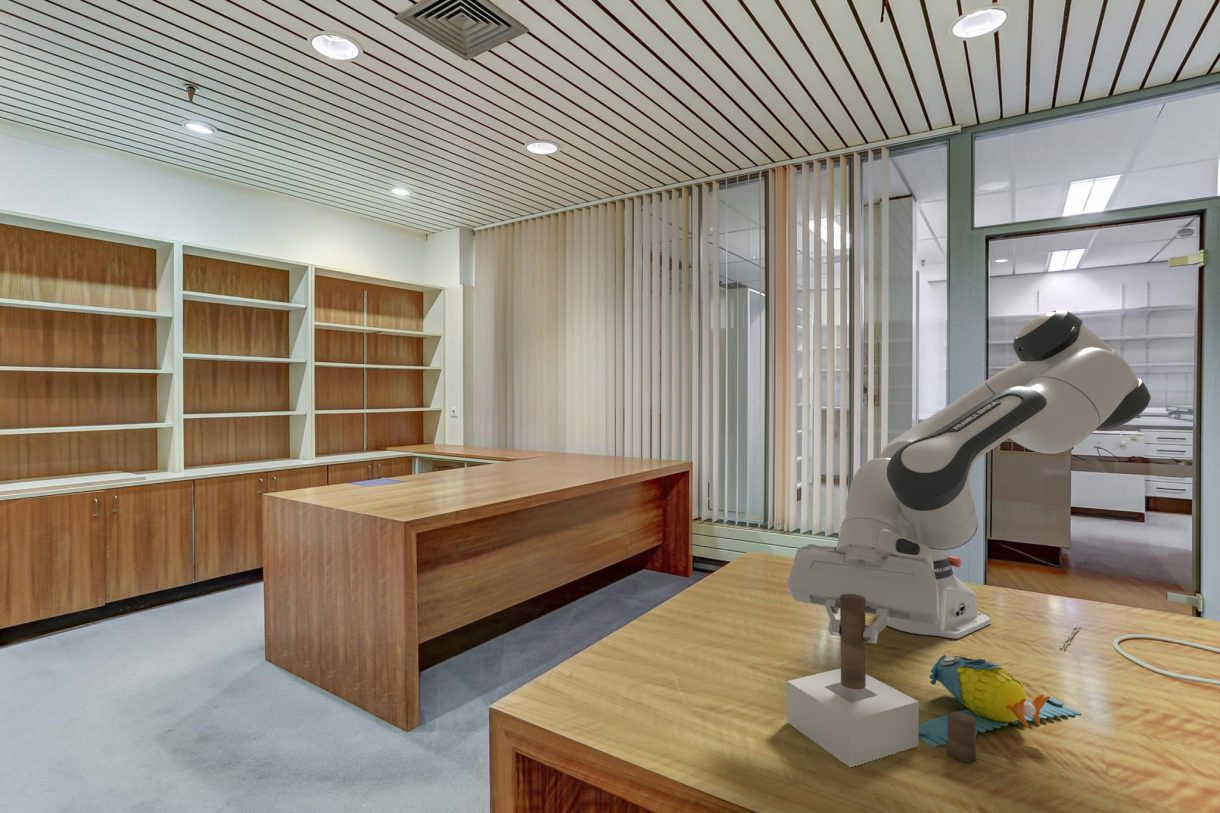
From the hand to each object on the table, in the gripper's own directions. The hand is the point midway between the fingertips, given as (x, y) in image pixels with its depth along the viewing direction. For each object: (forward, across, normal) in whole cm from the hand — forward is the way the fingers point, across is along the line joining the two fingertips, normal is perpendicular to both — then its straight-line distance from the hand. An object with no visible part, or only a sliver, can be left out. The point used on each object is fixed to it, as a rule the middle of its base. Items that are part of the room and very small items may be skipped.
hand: (851, 637), depth 85 cm
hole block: (+9, 0, +10) cm, 14 cm away
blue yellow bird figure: (-2, +15, +22) cm, 27 cm away
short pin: (+8, +13, +12) cm, 19 cm away
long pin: (+4, 0, +5) cm, 7 cm away
